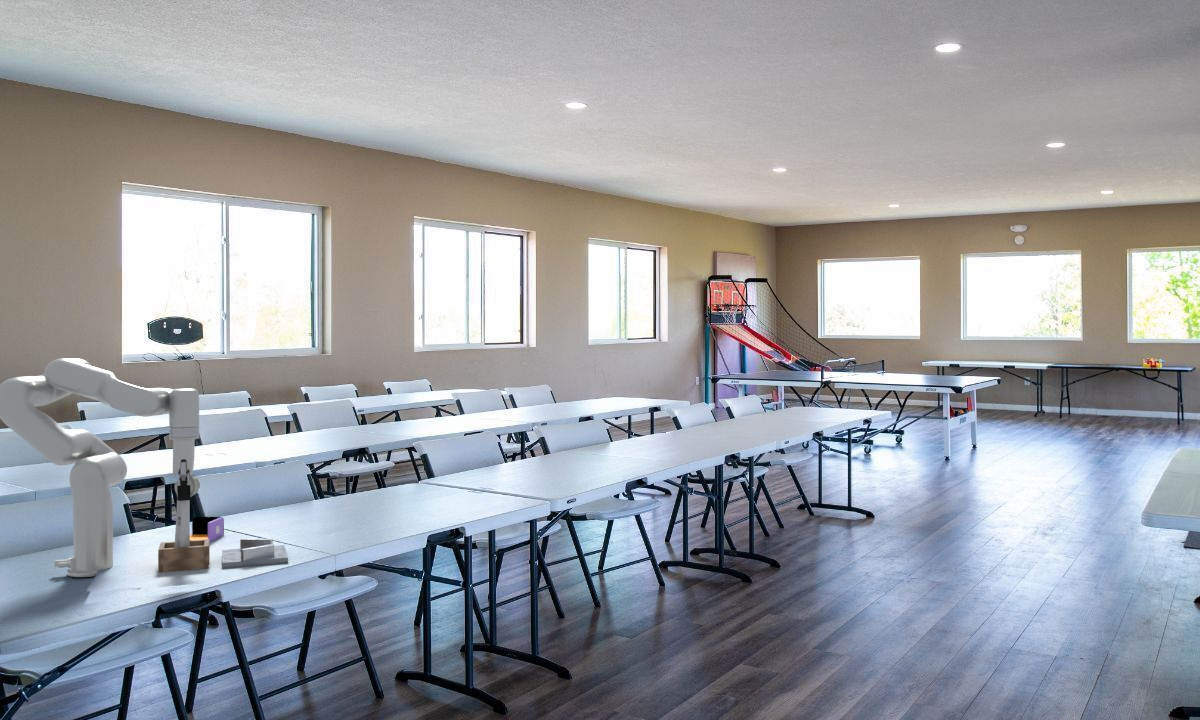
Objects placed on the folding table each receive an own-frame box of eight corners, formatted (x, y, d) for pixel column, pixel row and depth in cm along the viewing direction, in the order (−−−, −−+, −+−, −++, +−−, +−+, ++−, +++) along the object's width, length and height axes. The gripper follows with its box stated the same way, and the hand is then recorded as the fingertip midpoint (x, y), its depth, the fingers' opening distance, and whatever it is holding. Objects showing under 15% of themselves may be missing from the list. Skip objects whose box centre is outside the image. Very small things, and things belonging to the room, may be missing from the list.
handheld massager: (168, 568, 245) (168, 476, 245) (183, 562, 252) (184, 473, 251) (185, 569, 245) (186, 477, 244) (200, 563, 251) (201, 473, 251)
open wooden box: (158, 572, 241) (158, 549, 241) (160, 564, 251) (160, 542, 251) (208, 568, 246) (208, 546, 246) (209, 560, 255) (209, 539, 255)
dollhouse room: (228, 537, 290) (228, 516, 290) (212, 545, 278) (212, 522, 278) (191, 537, 290) (191, 516, 290) (173, 545, 278) (173, 522, 278)
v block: (221, 568, 245) (221, 551, 245) (222, 555, 262) (222, 539, 262) (288, 562, 252) (287, 546, 252) (284, 550, 269) (284, 535, 269)
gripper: (171, 431, 255) (171, 494, 255) (167, 436, 239) (167, 503, 239) (200, 430, 258) (200, 493, 258) (198, 435, 242) (198, 502, 242)
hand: (184, 497), depth 248 cm, fingers closed on handheld massager, 6 cm apart
